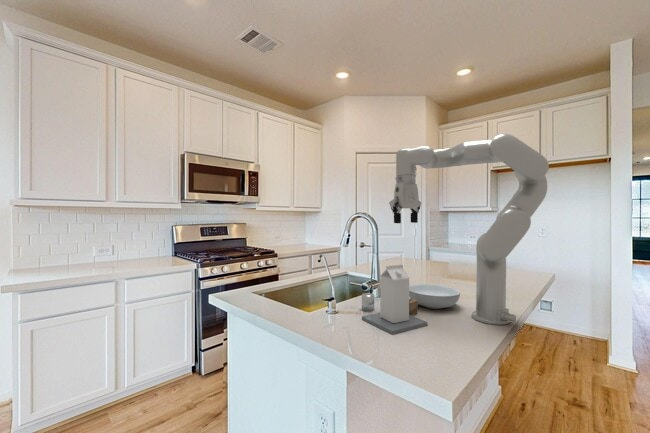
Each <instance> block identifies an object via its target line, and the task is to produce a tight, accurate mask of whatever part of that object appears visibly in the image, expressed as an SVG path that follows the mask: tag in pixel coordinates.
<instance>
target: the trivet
mask: <svg viewBox="0 0 650 433" xmlns="http://www.w3.org/2000/svg"><path fill="white" fill-rule="evenodd" d="M361 320H362V321H364V322H366V323H368V324H370V325H372V326H374V327H376V328H378V329H380V330H382V331H384V332H386V333H389V334H390V335H392V336H393V335H397V334H401V333H404V332H408V331H412V330H415V329H419V328H424V327H427V326H428V324H429V322H428V321H426V320H424V319H421V318H418V317H416V316H414V315H412V316H411V315H409V320H407V321H402V322H397V323H391V322H389V321H387V320H385V319H384V318H382V317H380V312H375V313H372V314H367V315H362V316H361Z"/></svg>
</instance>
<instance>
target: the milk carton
mask: <svg viewBox="0 0 650 433" xmlns="http://www.w3.org/2000/svg"><path fill="white" fill-rule="evenodd" d="M385 268H386V269H385V270H384V271H383V272H382V273H381V274H380V307H379V308H380V311H379V313H380V317H382V318H384V319H385V320H387V321H389V322H391V323H397V322H402V321H407V320H409V299H410V297H409V286H410V277H409V275H408V274H407V272H406V271H405V269H404V265H403V264H396V265H386V267H385Z"/></svg>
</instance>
